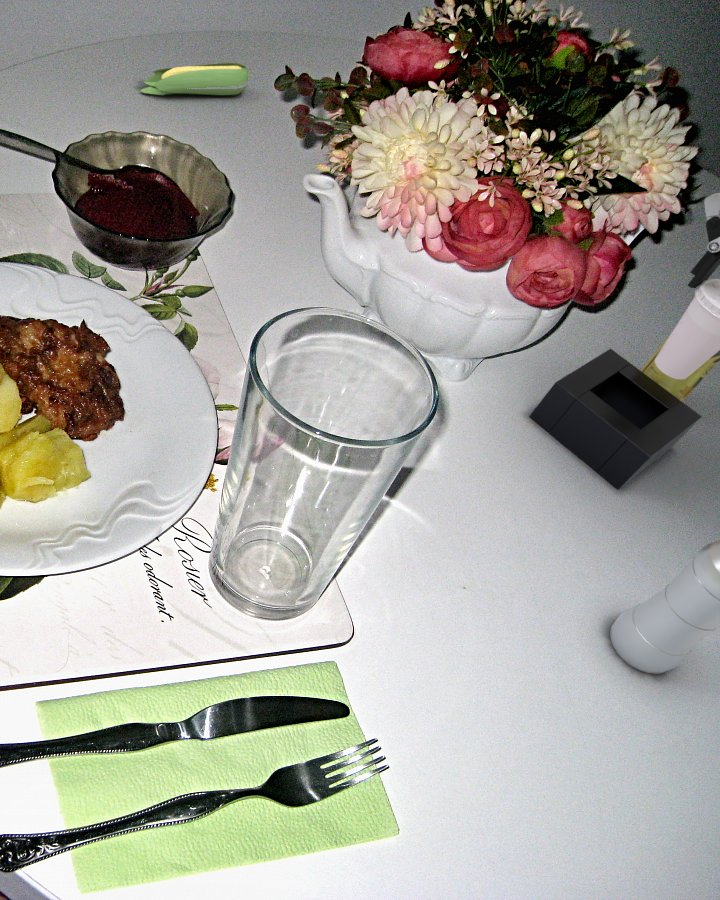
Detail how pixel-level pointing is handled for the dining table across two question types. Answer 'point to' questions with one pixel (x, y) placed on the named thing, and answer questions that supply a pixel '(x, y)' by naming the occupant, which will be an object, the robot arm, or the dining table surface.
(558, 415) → the dark storage bin
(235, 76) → the edible corn
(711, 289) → the smoothie
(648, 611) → the plastic bottle
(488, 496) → the dining table surface
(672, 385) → the sauce bottle
